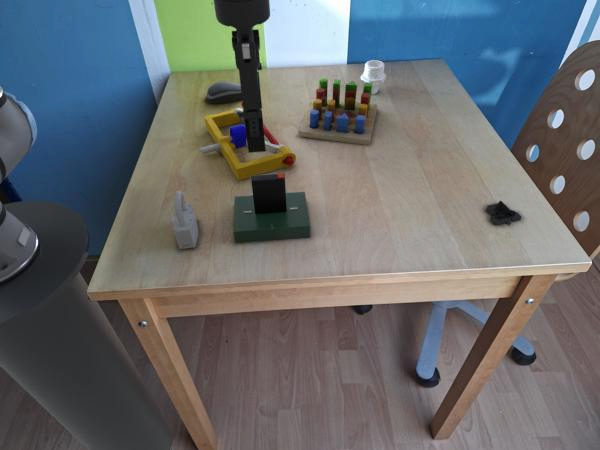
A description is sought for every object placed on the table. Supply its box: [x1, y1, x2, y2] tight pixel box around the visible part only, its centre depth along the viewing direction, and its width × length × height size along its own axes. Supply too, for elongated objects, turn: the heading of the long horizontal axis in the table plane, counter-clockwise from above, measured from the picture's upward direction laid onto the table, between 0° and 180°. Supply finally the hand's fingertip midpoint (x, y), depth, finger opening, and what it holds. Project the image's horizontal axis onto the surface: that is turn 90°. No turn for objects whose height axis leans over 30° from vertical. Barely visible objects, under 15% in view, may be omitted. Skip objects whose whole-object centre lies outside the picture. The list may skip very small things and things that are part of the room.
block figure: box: [485, 200, 522, 226], centre depth 82 cm, size 6×2×6 cm
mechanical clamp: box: [199, 102, 297, 181], centre depth 100 cm, size 18×6×30 cm
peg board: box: [298, 77, 378, 146], centre depth 106 cm, size 18×17×9 cm
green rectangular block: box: [233, 191, 311, 244], centre depth 82 cm, size 14×10×3 cm
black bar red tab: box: [250, 172, 287, 214], centre depth 78 cm, size 6×2×8 cm, turn 95°
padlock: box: [171, 190, 200, 250], centre depth 77 cm, size 7×4×10 cm, turn 8°
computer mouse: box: [205, 80, 242, 104], centre depth 119 cm, size 7×12×4 cm, turn 112°
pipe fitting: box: [360, 59, 387, 95], centre depth 118 cm, size 6×7×8 cm
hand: (255, 128), depth 71 cm, fingers open, 13 cm apart
